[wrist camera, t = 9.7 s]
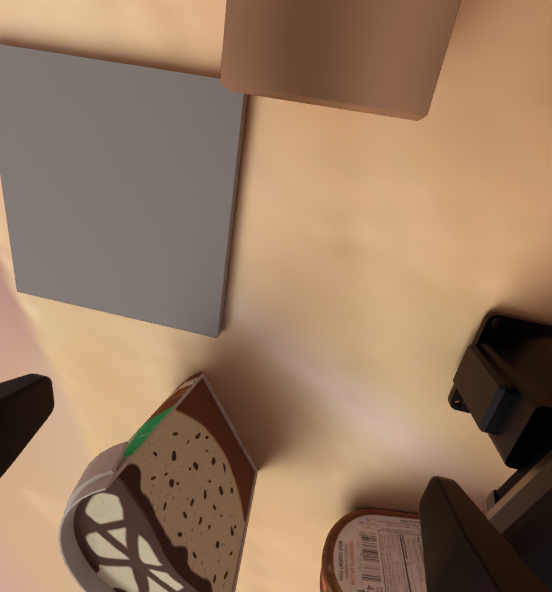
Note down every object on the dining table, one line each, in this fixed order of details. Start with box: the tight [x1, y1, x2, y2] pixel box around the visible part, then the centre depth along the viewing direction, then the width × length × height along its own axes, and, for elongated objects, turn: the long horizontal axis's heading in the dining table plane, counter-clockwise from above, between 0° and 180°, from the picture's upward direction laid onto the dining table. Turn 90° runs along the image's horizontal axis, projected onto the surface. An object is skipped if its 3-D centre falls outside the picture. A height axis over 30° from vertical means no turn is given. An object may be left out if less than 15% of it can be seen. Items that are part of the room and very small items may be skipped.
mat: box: [0, 44, 248, 338], centre depth 20 cm, size 14×14×1 cm
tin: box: [320, 509, 427, 592], centre depth 21 cm, size 15×3×8 cm, turn 93°
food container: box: [58, 372, 258, 592], centre depth 21 cm, size 12×6×10 cm, turn 24°
